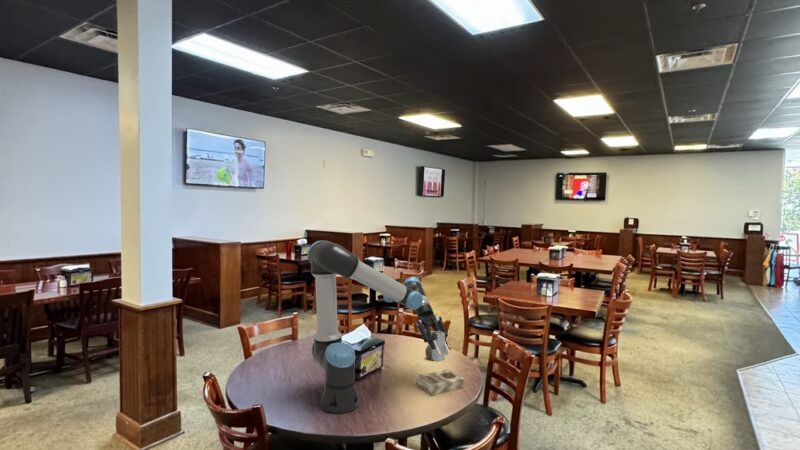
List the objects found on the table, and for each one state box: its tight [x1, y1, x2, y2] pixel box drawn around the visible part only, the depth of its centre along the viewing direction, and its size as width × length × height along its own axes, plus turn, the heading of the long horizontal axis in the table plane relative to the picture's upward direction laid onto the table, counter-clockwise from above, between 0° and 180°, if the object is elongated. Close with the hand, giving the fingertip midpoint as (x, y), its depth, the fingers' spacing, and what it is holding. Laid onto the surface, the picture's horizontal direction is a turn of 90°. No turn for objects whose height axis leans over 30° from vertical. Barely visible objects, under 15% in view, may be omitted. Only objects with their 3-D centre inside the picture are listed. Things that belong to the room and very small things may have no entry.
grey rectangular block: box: [431, 330, 446, 363], centre depth 185 cm, size 4×4×12 cm
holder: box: [415, 368, 465, 397], centre depth 190 cm, size 18×12×4 cm, turn 121°
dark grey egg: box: [424, 344, 434, 361], centre depth 223 cm, size 7×7×9 cm
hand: (443, 354), depth 182 cm, fingers closed on grey rectangular block, 4 cm apart
